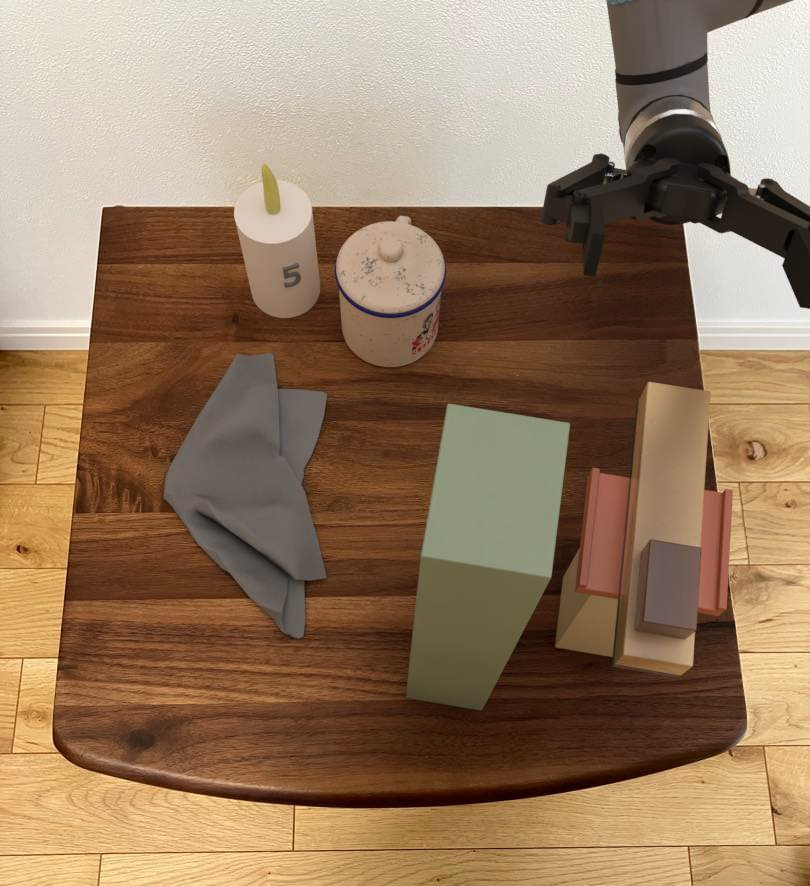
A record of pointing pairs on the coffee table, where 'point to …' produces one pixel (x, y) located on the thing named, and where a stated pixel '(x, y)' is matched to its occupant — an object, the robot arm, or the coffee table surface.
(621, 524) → the red-capped tan pillar
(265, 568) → the cloth
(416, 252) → the teacup with lid
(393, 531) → the coffee table surface
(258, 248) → the candle
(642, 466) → the tan wooden block
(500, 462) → the mint green pillar
